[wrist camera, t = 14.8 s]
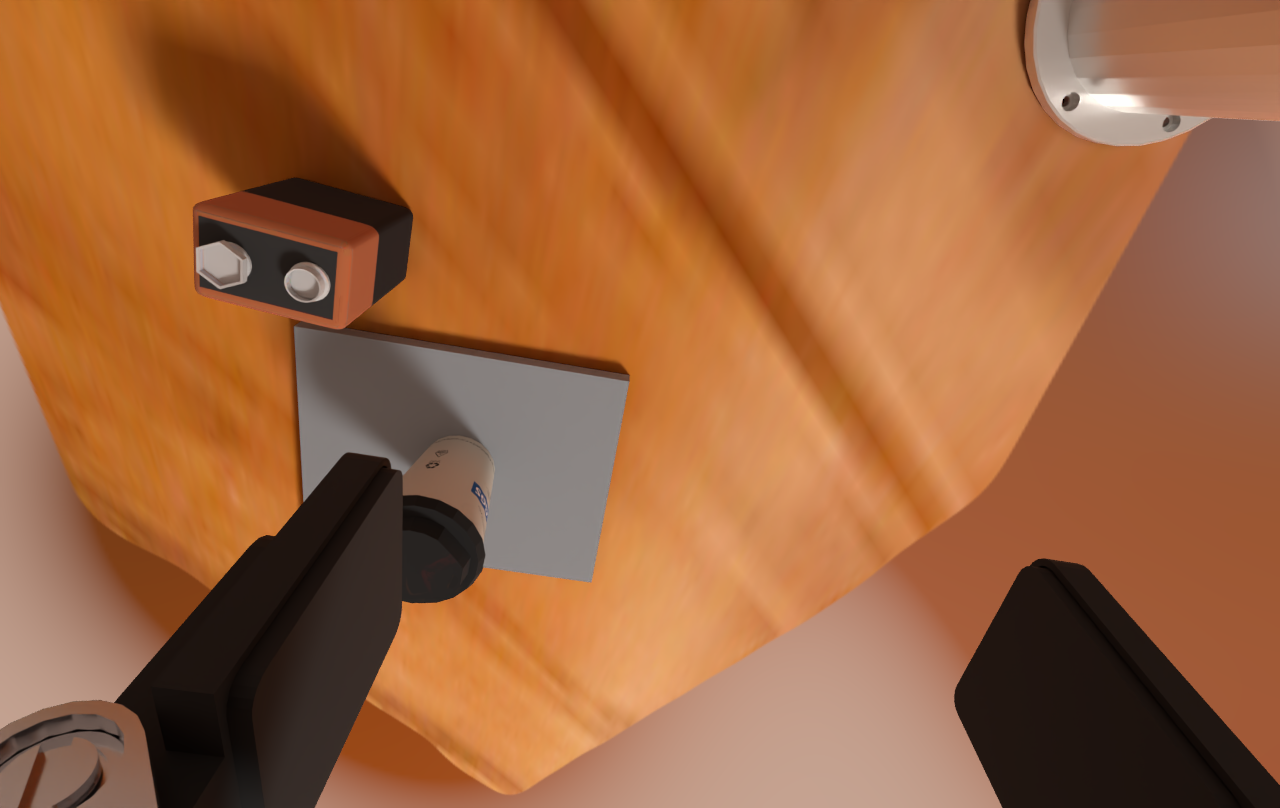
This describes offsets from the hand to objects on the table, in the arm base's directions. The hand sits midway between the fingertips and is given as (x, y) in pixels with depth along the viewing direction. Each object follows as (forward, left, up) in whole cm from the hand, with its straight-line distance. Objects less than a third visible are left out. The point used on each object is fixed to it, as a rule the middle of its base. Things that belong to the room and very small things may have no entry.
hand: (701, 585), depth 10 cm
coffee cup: (+10, +18, -29) cm, 35 cm away
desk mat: (+10, +18, -30) cm, 36 cm away
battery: (+17, +4, -30) cm, 35 cm away
